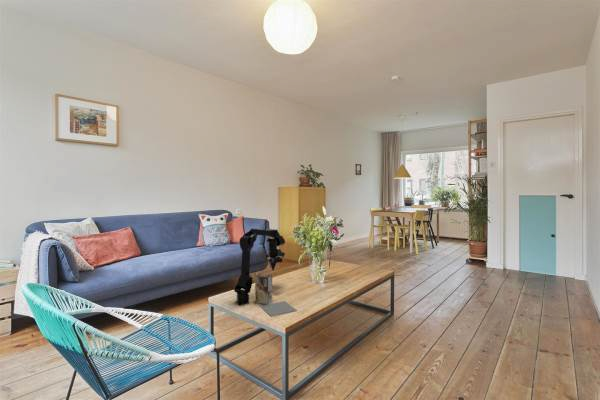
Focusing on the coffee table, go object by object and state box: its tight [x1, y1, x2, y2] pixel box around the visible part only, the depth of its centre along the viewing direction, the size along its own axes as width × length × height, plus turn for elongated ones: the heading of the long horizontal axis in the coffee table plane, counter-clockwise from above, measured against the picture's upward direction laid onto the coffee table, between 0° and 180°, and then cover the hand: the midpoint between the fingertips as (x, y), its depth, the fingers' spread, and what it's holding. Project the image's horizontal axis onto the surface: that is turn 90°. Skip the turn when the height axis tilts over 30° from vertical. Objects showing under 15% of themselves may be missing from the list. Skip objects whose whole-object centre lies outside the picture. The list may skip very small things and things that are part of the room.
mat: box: [259, 300, 298, 317], centre depth 173 cm, size 16×16×1 cm
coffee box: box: [254, 273, 274, 305], centre depth 184 cm, size 9×6×16 cm
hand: (273, 270), depth 207 cm, fingers closed
